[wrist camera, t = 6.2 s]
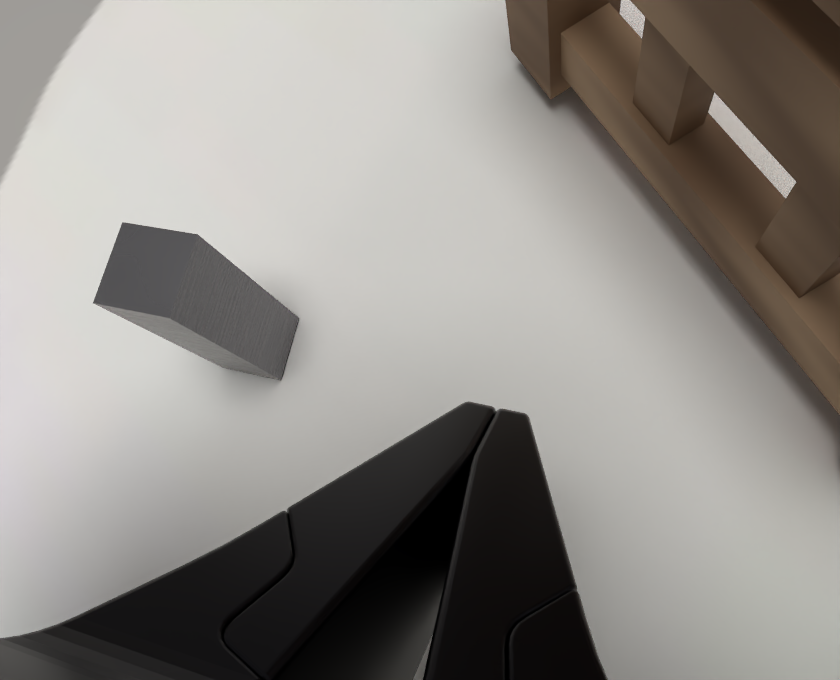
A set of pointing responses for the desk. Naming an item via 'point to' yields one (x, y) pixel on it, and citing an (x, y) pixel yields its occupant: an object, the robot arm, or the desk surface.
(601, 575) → the desk surface
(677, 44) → the walnut gate
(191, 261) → the dark grey square post
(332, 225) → the desk surface
